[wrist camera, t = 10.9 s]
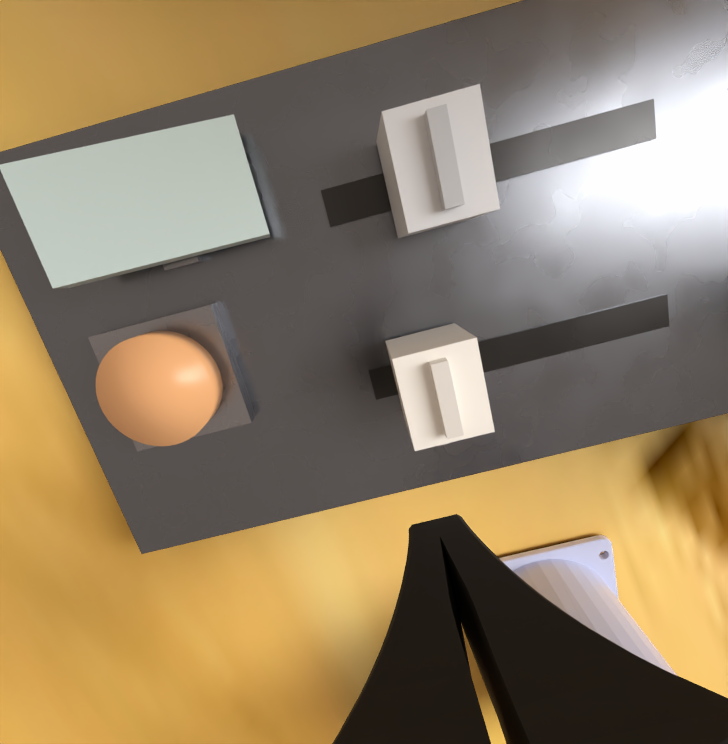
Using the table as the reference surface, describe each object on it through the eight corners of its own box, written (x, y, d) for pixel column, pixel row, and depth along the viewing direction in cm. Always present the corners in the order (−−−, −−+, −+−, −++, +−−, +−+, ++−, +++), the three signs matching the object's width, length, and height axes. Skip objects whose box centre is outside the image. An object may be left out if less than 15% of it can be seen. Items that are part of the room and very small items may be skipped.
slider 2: (470, 401, 19) (499, 437, 15) (404, 417, 19) (416, 457, 15) (454, 323, 18) (481, 340, 14) (385, 340, 18) (393, 362, 14)
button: (242, 412, 19) (229, 431, 17) (147, 437, 19) (122, 457, 17) (207, 315, 17) (189, 322, 15) (106, 342, 18) (76, 352, 16)
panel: (733, 394, 21) (779, 410, 19) (155, 534, 22) (133, 565, 20) (720, -39, 16) (779, -86, 14) (-7, 171, 18) (-60, 158, 15)
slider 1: (471, 218, 17) (505, 207, 13) (398, 238, 17) (410, 232, 13) (453, 120, 16) (484, 77, 12) (376, 141, 16) (382, 105, 12)
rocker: (270, 236, 17) (269, 233, 15) (69, 287, 16) (52, 288, 15) (237, 126, 16) (233, 114, 14) (20, 173, 15) (-3, 165, 13)
